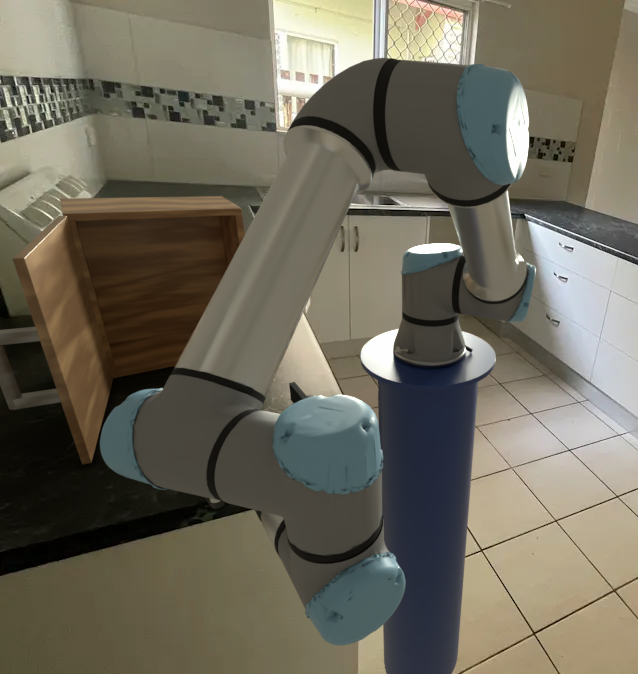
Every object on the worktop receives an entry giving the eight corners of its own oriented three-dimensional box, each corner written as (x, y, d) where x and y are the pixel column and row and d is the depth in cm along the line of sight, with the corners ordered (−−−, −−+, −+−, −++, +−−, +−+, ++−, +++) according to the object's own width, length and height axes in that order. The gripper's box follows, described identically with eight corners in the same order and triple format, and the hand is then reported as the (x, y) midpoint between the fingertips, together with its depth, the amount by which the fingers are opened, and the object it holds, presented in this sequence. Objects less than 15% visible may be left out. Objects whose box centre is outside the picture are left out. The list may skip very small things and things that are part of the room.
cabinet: (260, 348, 98) (241, 208, 86) (109, 379, 82) (62, 213, 71) (241, 325, 107) (221, 196, 95) (102, 349, 92) (59, 198, 80)
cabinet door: (28, 476, 60) (-58, 261, 49) (66, 386, 79) (9, 216, 67) (91, 462, 63) (24, 258, 52) (113, 379, 82) (67, 215, 71)
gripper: (157, 593, 41) (126, 464, 55) (407, 480, 57) (333, 401, 71) (137, 530, 38) (110, 410, 52) (407, 428, 54) (330, 357, 68)
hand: (239, 405), depth 62 cm, fingers open, 13 cm apart
